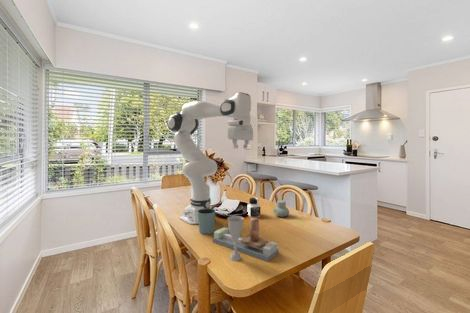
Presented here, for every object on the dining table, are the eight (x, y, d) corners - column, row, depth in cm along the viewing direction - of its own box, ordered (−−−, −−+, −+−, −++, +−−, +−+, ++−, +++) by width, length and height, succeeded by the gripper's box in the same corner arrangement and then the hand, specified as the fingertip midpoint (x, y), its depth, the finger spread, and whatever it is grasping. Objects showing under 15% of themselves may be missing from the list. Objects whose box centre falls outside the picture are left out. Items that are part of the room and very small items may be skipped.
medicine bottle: (250, 217, 157) (250, 200, 156) (247, 214, 164) (247, 197, 163) (260, 216, 159) (260, 199, 158) (256, 213, 166) (256, 196, 165)
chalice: (243, 253, 109) (243, 215, 107) (244, 261, 102) (244, 221, 100) (227, 254, 108) (227, 215, 107) (227, 261, 102) (227, 221, 100)
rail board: (212, 241, 121) (212, 232, 120) (225, 235, 129) (225, 226, 128) (267, 261, 102) (267, 250, 101) (278, 252, 110) (278, 242, 109)
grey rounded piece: (271, 213, 165) (272, 199, 164) (282, 212, 167) (282, 198, 167) (279, 219, 155) (279, 204, 154) (290, 217, 157) (290, 203, 156)
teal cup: (212, 235, 128) (212, 214, 127) (194, 234, 130) (194, 213, 129) (217, 228, 138) (217, 208, 137) (201, 227, 140) (200, 207, 139)
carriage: (240, 243, 111) (240, 219, 110) (250, 237, 118) (250, 214, 117) (259, 249, 105) (259, 224, 104) (267, 242, 112) (268, 219, 111)
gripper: (247, 124, 138) (245, 148, 139) (226, 121, 122) (224, 147, 123) (256, 124, 135) (255, 148, 136) (236, 121, 118) (234, 148, 119)
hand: (240, 148), depth 129 cm, fingers open, 8 cm apart
